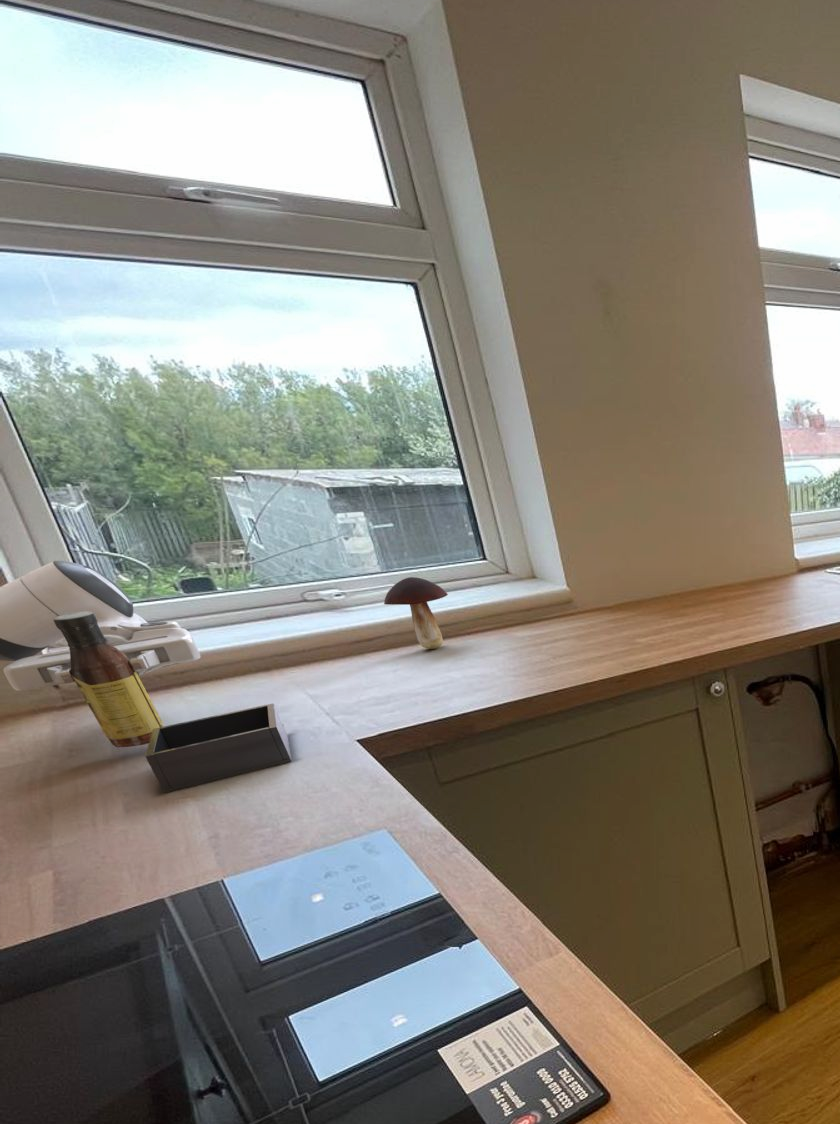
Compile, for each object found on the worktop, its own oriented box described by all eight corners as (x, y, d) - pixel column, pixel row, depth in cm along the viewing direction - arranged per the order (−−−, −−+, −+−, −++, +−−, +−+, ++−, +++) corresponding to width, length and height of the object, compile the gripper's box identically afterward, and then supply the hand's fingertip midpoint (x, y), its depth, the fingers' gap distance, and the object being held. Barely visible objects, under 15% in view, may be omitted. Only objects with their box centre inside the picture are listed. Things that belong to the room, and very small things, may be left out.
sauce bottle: (128, 736, 125) (63, 611, 117) (178, 730, 127) (116, 606, 118) (100, 753, 119) (29, 622, 111) (152, 746, 121) (86, 617, 113)
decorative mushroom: (475, 642, 172) (452, 572, 166) (425, 658, 163) (399, 585, 157) (439, 639, 176) (416, 570, 170) (389, 654, 167) (362, 582, 160)
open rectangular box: (164, 793, 109) (145, 756, 107) (170, 763, 119) (152, 728, 117) (291, 761, 117) (276, 726, 115) (287, 735, 127) (273, 703, 125)
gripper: (4, 647, 120) (-17, 668, 110) (189, 618, 132) (185, 635, 122) (26, 687, 122) (8, 711, 113) (206, 655, 134) (204, 674, 125)
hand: (102, 671), depth 118 cm, fingers closed on sauce bottle, 6 cm apart
